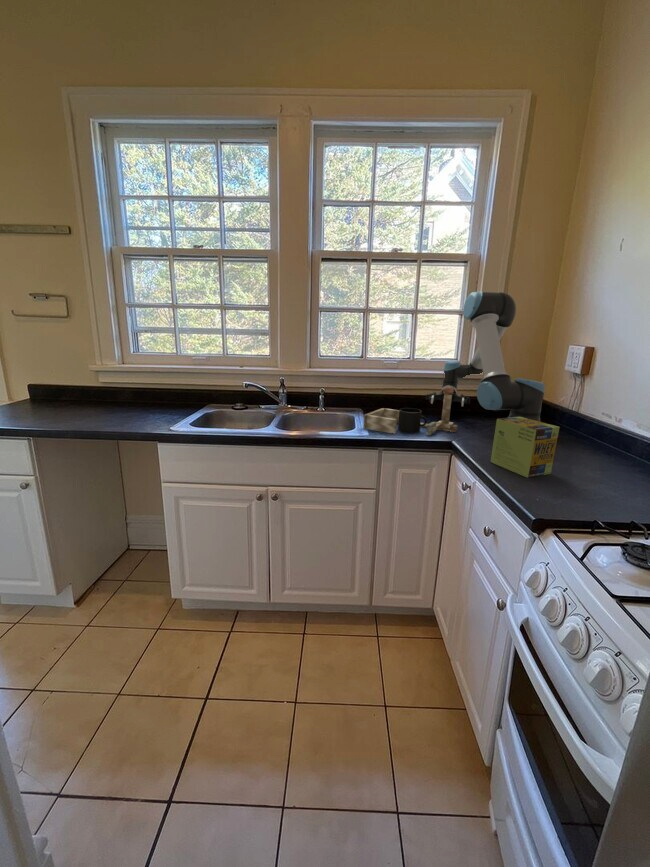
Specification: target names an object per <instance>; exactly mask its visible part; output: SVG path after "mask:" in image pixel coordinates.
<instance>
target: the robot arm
mask: <svg viewBox="0 0 650 867" xmlns="http://www.w3.org/2000/svg"><path fill="white" fill-rule="evenodd" d="M462 308H463V309H462V310H463V311H462V314H463V318H465V319H466V320H469V321H470V326H471V327H472V328H474V329H475V334H476V341H477V345H478V346H477V349H476V350H475V353H474V355H473V357H472V359H471V361H470V362H469V364H461V362H460V361H458V360H446V361H445V363H444V366H443V367H444V369H443V374H444V373H445V378H444V380H443V379H442V384H443V385H442V384H441V391H440V392H439V393H438V392H436V391H434V392H432V393H427V394H426V395H425V400H426V401H428V400H429V401H428V402H429V403H430V404H432V405H433V403H434V401H437V400H438V401H442V402H443V401H444V393H443V390H444V388H445V387H447V386H450V387H452V388H453V390H454V392H453V394H452V399H451V403H452V402H458V403H460V404H461V407H464V405H465V404H468V405H469V404H471V397H468V396H466V395H464V394H463V393H461V394H459V395H458V394H457V393H456V392H458V383H459V380H462V379H461V378H463V377H465V376H466V375H470V374H480V373H482V372H483V375H484V378H483V379H480V383H479V384H478V386H477V390H476V396H477V397H476V398H477V401H478V403H479V405H480V406H481V407H482V408H484V409H485V410H489V411H490V410H492V411H502V410H503V411H507V410H510V411H509V415H508V416H507V418H509V417H523V418H527V419H531V420H535V421H539V422H542V421H541V412H542V408H543V406H542V404H543V400H544V397H545V386H546V385H545V383H544V382H542V381H538V380H532V379H528V378H527V379H526V378H520V377H516V378H515V380H514V381H512V377H511V375H510V374H509V373H507V372H506V369H505V364H504V357H503V353H502V347H501V342H500V341H501V339H502V337H503V335H504V333H505V332H506V330H507V328H510V327H511V325H512V324H513V323H514V320H515V317H516V314H517V304H516V301H515V300H514V298H513V297H512V296H511V295H510V294H509V293H507V292H494V291H493V292H492V291H491V292H489V291H482V290H481V291H472V292H471V293H470V294H469V295H468V296H467V297H466V299H465V301H464V305H463V307H462Z"/></svg>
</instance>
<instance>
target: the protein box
mask: <svg viewBox="0 0 650 867" xmlns="http://www.w3.org/2000/svg"><path fill="white" fill-rule="evenodd" d="M508 417H509V416H508ZM508 417H499V418H497V419H496V422H495V429H494V430H495V431H494V434H493V435H494V436H493V441H492V442H493V443H492V448H491V450H492V451H491V457H490V463H491V464H494V465H497V466H499V467H501V468H503V469H505V470H508V471H510V472H513V473H515V474H518V475H520V476H521V477H525V478H533V477H534V478H535V477H539V476H545V475H551V473H552V469H553V464H554V457H555V453H556V447H557V442H558V437H559V432H560V428H561V427H560V426H557V425H554V424H549V423H546V422H542V421H541V422H539V421H535V420H531V419H527V418H523V417H509V418H508Z"/></svg>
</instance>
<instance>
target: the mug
mask: <svg viewBox="0 0 650 867" xmlns="http://www.w3.org/2000/svg"><path fill="white" fill-rule="evenodd" d="M422 419H424V422H423V423H424V424H421V423H422ZM427 422H428V419H427V417H426V416H424V415H422V410H421V409H418V408H413V407H403V408H400V409H399V421H398V424H397V431H399V432H401V433H404V432H405V433H406V434H417V433H419V432H420V431H421V428H422V427H421V426H424V425H426V424H428V423H427Z"/></svg>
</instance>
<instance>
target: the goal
mask: <svg viewBox="0 0 650 867" xmlns="http://www.w3.org/2000/svg"><path fill="white" fill-rule="evenodd" d="M398 421H399V410H398V409H392V408H387V407H386V408H385V407H382V408H379V409H376V410H374V411H370V412H368V413H365V414H363V423H362V424H363V426H362V428H363V429H366V430H370V431H376V432H377V431H378V432H381V433H386V434H388V433H389V434H392V433H393V434H394V435H395V434H397V427H398V424H397V423H398Z"/></svg>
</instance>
